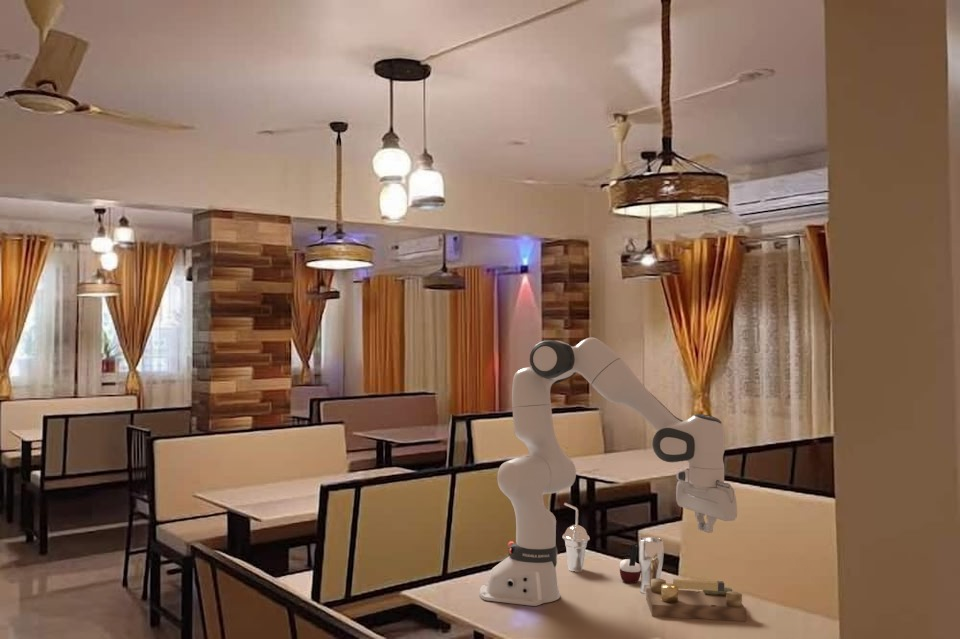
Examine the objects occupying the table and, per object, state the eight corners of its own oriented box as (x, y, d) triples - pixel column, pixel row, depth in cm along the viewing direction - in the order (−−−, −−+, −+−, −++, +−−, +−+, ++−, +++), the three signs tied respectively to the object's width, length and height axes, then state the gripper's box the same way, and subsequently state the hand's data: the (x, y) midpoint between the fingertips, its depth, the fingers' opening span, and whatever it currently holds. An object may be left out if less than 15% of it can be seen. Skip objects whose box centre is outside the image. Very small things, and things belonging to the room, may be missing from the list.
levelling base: (652, 616, 215) (652, 593, 215) (646, 599, 229) (646, 577, 229) (745, 621, 213) (746, 597, 213) (734, 603, 227) (734, 581, 227)
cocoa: (621, 577, 250) (621, 537, 251) (642, 579, 248) (642, 539, 249) (617, 585, 241) (616, 543, 242) (638, 586, 239) (638, 545, 240)
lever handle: (662, 601, 217) (662, 581, 217) (660, 596, 221) (660, 576, 221) (725, 605, 215) (725, 584, 215) (721, 599, 220) (721, 579, 220)
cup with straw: (567, 574, 251) (568, 508, 251) (557, 566, 260) (558, 502, 260) (593, 572, 253) (594, 507, 254) (582, 564, 262) (583, 501, 262)
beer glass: (662, 596, 232) (664, 543, 232) (637, 594, 233) (638, 541, 233) (662, 589, 238) (663, 537, 239) (638, 587, 240) (639, 535, 240)
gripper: (743, 484, 205) (742, 539, 205) (691, 470, 224) (690, 521, 223) (723, 485, 202) (722, 541, 202) (672, 471, 221) (671, 523, 221)
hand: (705, 531), depth 213 cm, fingers closed
